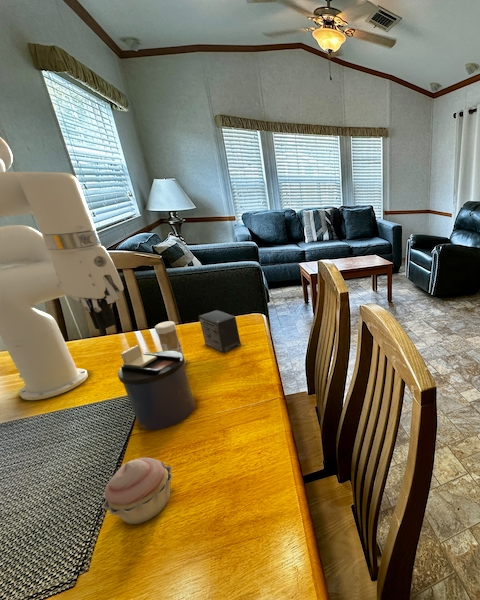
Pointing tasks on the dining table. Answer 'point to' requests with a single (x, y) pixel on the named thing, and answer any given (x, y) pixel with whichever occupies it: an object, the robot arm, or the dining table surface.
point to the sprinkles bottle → (169, 337)
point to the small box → (220, 331)
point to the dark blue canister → (159, 390)
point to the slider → (136, 357)
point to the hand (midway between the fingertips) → (106, 326)
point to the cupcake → (138, 490)
